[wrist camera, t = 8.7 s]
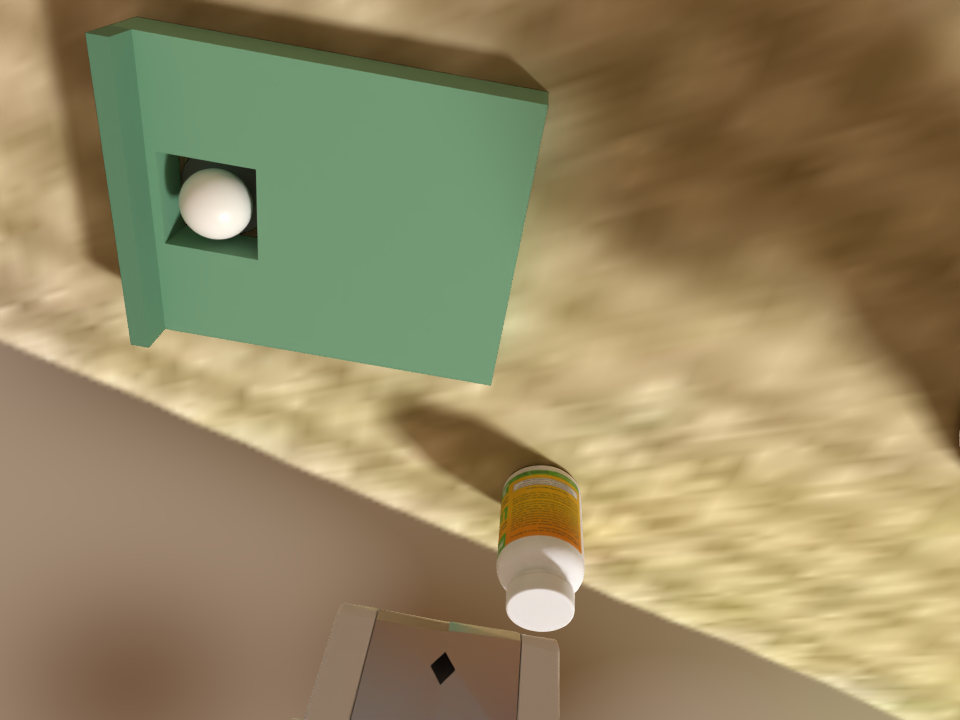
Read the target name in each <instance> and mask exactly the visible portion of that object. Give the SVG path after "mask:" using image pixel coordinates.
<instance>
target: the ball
mask: <svg viewBox="0 0 960 720" xmlns="http://www.w3.org/2000/svg"><path fill="white" fill-rule="evenodd" d="M179 209H180V212H181V215H182V217H183V219H184V221H185V222H186V224H187V225H188V226H189V227H190V228H191V229H192V230H193V231H195V232H196V233H198V234H199V235H201V236H204V237H206V238H210V239H227V238H230V237H233V236H235V235H237V234H239V233H240V232H241V231H242V230H243V229H244V228H245V227H246V226H247V225H248V223H249V221H250V219H251V216H252V212H253V201H252V197H251V194H250V191H249V190H248V188H247V186H246V185H245V183H244V182H243V181H242V180H241V179H240V178H239V177H237V176H236V175H234V174H233V173H231V172H229V171H226V170H223V169H218V168H209V169H204V170H200V171H198V172H196V173H194V174H193V175H191V176H190V177H189V178H188V179H187V180H186V181H185V183H184V184H183V186H182V188H181V191H180V194H179Z"/></svg>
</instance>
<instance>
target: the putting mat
mask: <svg viewBox="0 0 960 720" xmlns="http://www.w3.org/2000/svg"><path fill="white" fill-rule="evenodd" d="M85 35H86V42H87V48H88V55H89V62H90V69H91V76H92V83H93V89H94V96H95V103H96V110H97V117H98V123H99V130H100V137H101V144H102V151H103V158H104V164H105V171H106V178H107V185H108V192H109V199H110V205H111V212H112V219H113V226H114V233H115V240H116V246H117V253H118V260H119V267H120V274H121V280H122V287H123V294H124V301H125V308H126V315H127V321H128V328H129V335H130V342H131V345H136V346H142V347H148V348H149V347H150V346H151V345H152V344H153V342H154V341H155V340H156V339H157V338H158V337H159V335H160V334H161V333H162V332H163V331H164V330H165V329H169V330H174V331H180V332H186V333H192V334H197V335H203V336H209V337H215V338H220V339H226V340H232V341H238V342H243V343H249V344H255V345H261V346H266V347H272V348H278V349H284V350H289V351H295V352H301V353H307V354H312V355H318V356H324V357H330V358H335V359H341V360H347V361H352V362H358V363H364V364H370V365H375V366H381V367H387V368H393V369H398V370H404V371H410V372H416V373H421V374H427V375H433V376H439V377H444V378H450V379H456V380H462V381H467V382H473V383H479V384H485V385H490V386H491V383H492V378H493V373H494V368H495V363H496V358H497V353H498V349H499V344H500V339H501V334H502V329H503V324H504V319H505V314H506V309H507V305H508V300H509V295H510V290H511V285H512V280H513V275H514V270H515V265H516V261H517V256H518V251H519V246H520V241H521V236H522V231H523V226H524V221H525V217H526V212H527V207H528V202H529V197H530V192H531V187H532V182H533V177H534V173H535V168H536V163H537V158H538V153H539V148H540V143H541V138H542V133H543V129H544V124H545V119H546V114H547V109H548V92H545V91H540V90H534V89H529V88H523V87H518V86H512V85H507V84H501V83H496V82H491V81H485V80H480V79H474V78H469V77H463V76H458V75H452V74H447V73H441V72H436V71H430V70H425V69H419V68H414V67H408V66H403V65H398V64H392V63H387V62H381V61H376V60H370V59H365V58H359V57H354V56H348V55H343V54H337V53H332V52H326V51H321V50H316V49H310V48H305V47H299V46H294V45H288V44H283V43H277V42H272V41H266V40H261V39H255V38H250V37H244V36H239V35H234V34H228V33H223V32H217V31H212V30H206V29H201V28H195V27H190V26H184V25H179V24H173V23H168V22H162V21H157V20H152V19H146V18H141V17H134V18H131V19H127V20H124V21H121V22H118V23H115V24H112V25H108V26H105V27H102V28H99V29H96V30H93V31H89V32H86V33H85ZM179 156H184V157H189V159H188V161H187V162H186V164H185V166H184V168H183V171H182V177H181V175H180V163H179ZM209 168H218V169H223V170H226V171H229V172H231V173H233V174H234V175H236V176H237V177H239V178H240V179H241V180H242V181H243V182H244V183H245V185H246V186H247V188H248V190H249V191H250V194H251V197H252V201H253V212H252V216H251V219H250V221H249V223H248V225H247V226H246V227H245V228H244V229H243V230H242V231H241V232H240V233H244V232H247V231H250V230H252V229H254V228H256V227H257V234H258V238H256V237H250V236H244V235H239V234H237V235H235V236H233V237H230V238H227V239H210V238H206V237H204V236H201V235H199V234H198V233H196V232H195V231H193V230H192V229H191V228H190V227H189V226H188V225H185V222H184V219H183V217H182V215H181V212H180V209H179V194H180V191H181V188H182V186H183V184H184V183H185V181H186V180H187V179H188V178H189V177H190V176H191V175H193V174H194V173H196V172H198V171H200V170H204V169H209ZM181 185H182V186H181Z"/></svg>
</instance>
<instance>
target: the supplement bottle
mask: <svg viewBox="0 0 960 720" xmlns="http://www.w3.org/2000/svg"><path fill="white" fill-rule="evenodd" d="M497 575H498V578H499V581H500V582H501V584H502V586H503V587H504V588H505V590H506V591H507V592H506V612H507V614H508V616H509V618H510V619H511V620H512V621H513V622H514V623H515V624H517V625H519V626H520V627H522V628H525V629H528V630H532V631H541V632H543V631H553V630H556V629H559V628H561V627H564V626H565V625H567V624H568V623H569V622H570V621H571V619H572V618H573V615H574V612H575V610H574V609H575V603H574V602H575V594H574V593H575V592H576V591H577V590H578V588H579V587H580V585H581V583H582V581H583V578H584V545H583V526H582V505H581V494H580V489H579V487H578V485H577V483H576V481H575V480H574V479H573V478H572V477H571V476H570V475H569V474H567V473H566V472H564V471H563V470H561V469H558V468H555V467H552V466H546V465H535V466H529V467H525V468H523V469H520V470H518V471H517V472H515V473H514V474H512V475H511V476H510V477H509V478H508V479H507V481H506V482H505V485H504V487H503V491H502V501H501V515H500V530H499V543H498V555H497Z"/></svg>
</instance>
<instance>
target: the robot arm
mask: <svg viewBox="0 0 960 720" xmlns="http://www.w3.org/2000/svg"><path fill="white" fill-rule="evenodd" d="M959 445H960V432H959ZM291 720H559V646H558V644H557V641H556V640H555V639H549V638H542V637H535V636H529V635H523V634H519V633H518V632H512V631H506V630H500V629H494V628H487V627H481V626H475V625H468V624H462V623H455V622H444V621H439V620H434V619H428V618H422V617H418V616H413V615H407V614H402V613H397V612H391V611H386V610H381V609H378V608H372V607H366V606H361V605H355V604H349V603H344V602H343V603H342V605H341V606H340V608H339V610H338V612H337V614H336V618H335V621H334V624H333V627H332V631H331V634H330V637H329V640H328V643H327V646H326V650H325V653H324V656H323V659H322V663H321V666H320V669H319V672H318V676H317V678H316V682H315V685H314V688H313V692H312V694H311V698H310V701H309V704H308V708H307V711H306V714H305V717H304V719H296V718H292V719H291Z"/></svg>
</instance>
